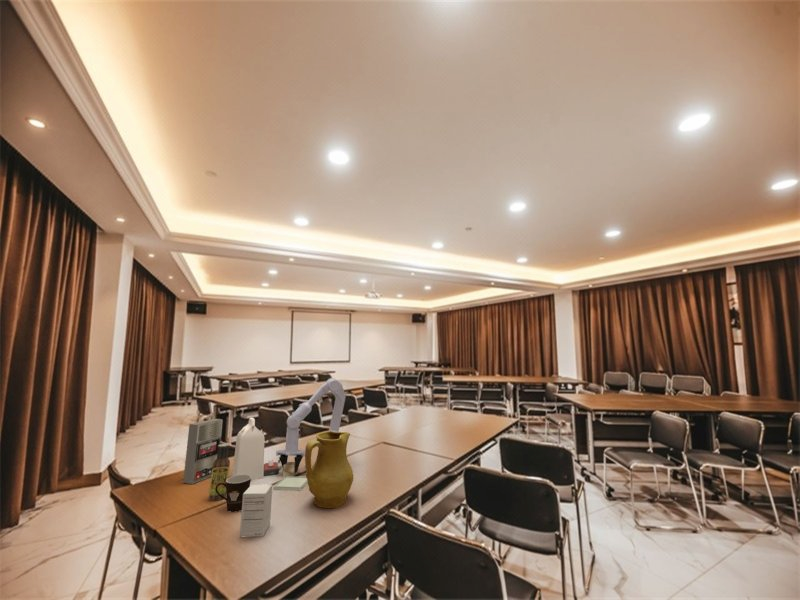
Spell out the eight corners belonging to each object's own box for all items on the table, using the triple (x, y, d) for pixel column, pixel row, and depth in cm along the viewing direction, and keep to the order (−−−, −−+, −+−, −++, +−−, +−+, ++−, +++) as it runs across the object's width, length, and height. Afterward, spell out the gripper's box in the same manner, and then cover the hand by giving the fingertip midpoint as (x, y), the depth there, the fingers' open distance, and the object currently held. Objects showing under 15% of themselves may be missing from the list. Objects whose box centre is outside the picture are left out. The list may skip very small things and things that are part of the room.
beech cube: (297, 473, 154) (298, 462, 155) (293, 477, 149) (293, 465, 150) (287, 472, 155) (288, 461, 156) (282, 476, 150) (283, 465, 151)
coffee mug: (254, 504, 121) (256, 476, 123) (236, 515, 113) (238, 484, 115) (230, 500, 125) (233, 472, 127) (211, 510, 117) (214, 480, 119)
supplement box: (247, 525, 106) (250, 484, 109) (270, 524, 107) (273, 483, 109) (238, 537, 99) (242, 493, 101) (263, 536, 100) (266, 492, 102)
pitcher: (353, 509, 117) (355, 437, 122) (300, 513, 114) (304, 439, 119) (352, 490, 134) (354, 427, 138) (306, 493, 131) (309, 429, 135)
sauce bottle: (207, 502, 123) (212, 447, 127) (209, 496, 129) (214, 443, 132) (226, 499, 126) (230, 445, 129) (227, 493, 131) (232, 442, 135)
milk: (263, 478, 148) (267, 419, 153) (235, 483, 142) (241, 422, 146) (258, 470, 158) (262, 415, 162) (232, 475, 151) (236, 417, 156)
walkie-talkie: (282, 475, 152) (281, 463, 170) (283, 465, 153) (281, 454, 171) (262, 478, 149) (263, 465, 167) (263, 468, 150) (263, 456, 168)
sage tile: (311, 479, 146) (311, 477, 146) (300, 490, 134) (300, 487, 135) (285, 478, 147) (285, 476, 147) (273, 489, 135) (273, 486, 136)
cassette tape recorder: (192, 484, 140) (198, 425, 145) (182, 483, 142) (188, 424, 147) (219, 474, 153) (224, 419, 158) (209, 472, 155) (214, 418, 159)
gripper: (273, 443, 151) (271, 474, 149) (303, 443, 150) (301, 475, 148) (280, 439, 158) (278, 468, 156) (309, 440, 157) (307, 469, 155)
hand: (290, 471), depth 152 cm, fingers closed on beech cube, 5 cm apart
